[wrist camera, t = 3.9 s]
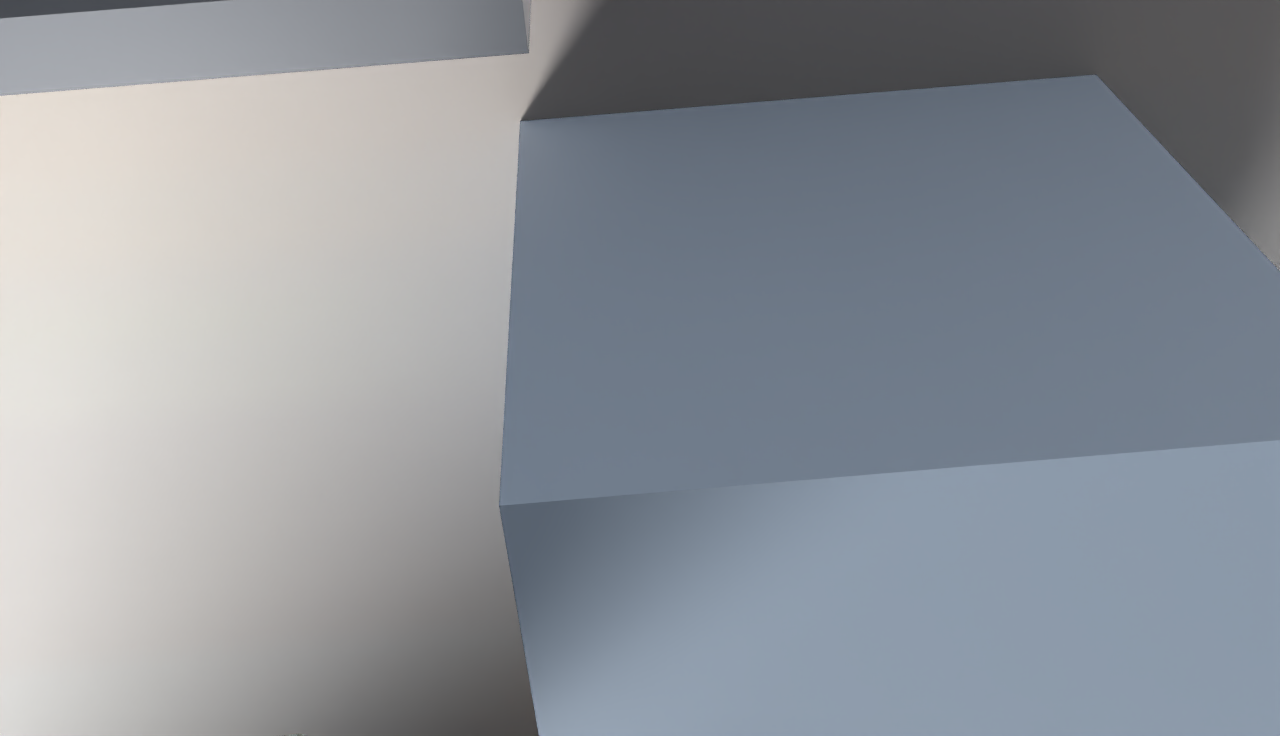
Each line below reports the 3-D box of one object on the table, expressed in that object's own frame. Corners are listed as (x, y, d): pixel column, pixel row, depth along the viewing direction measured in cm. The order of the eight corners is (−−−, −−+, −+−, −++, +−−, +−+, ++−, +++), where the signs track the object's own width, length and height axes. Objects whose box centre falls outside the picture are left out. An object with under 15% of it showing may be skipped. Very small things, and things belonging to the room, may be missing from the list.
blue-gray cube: (1028, 499, 15) (1231, 929, 10) (574, 538, 15) (582, 986, 10) (1100, 70, 12) (1436, 427, 7) (520, 117, 12) (498, 505, 7)
